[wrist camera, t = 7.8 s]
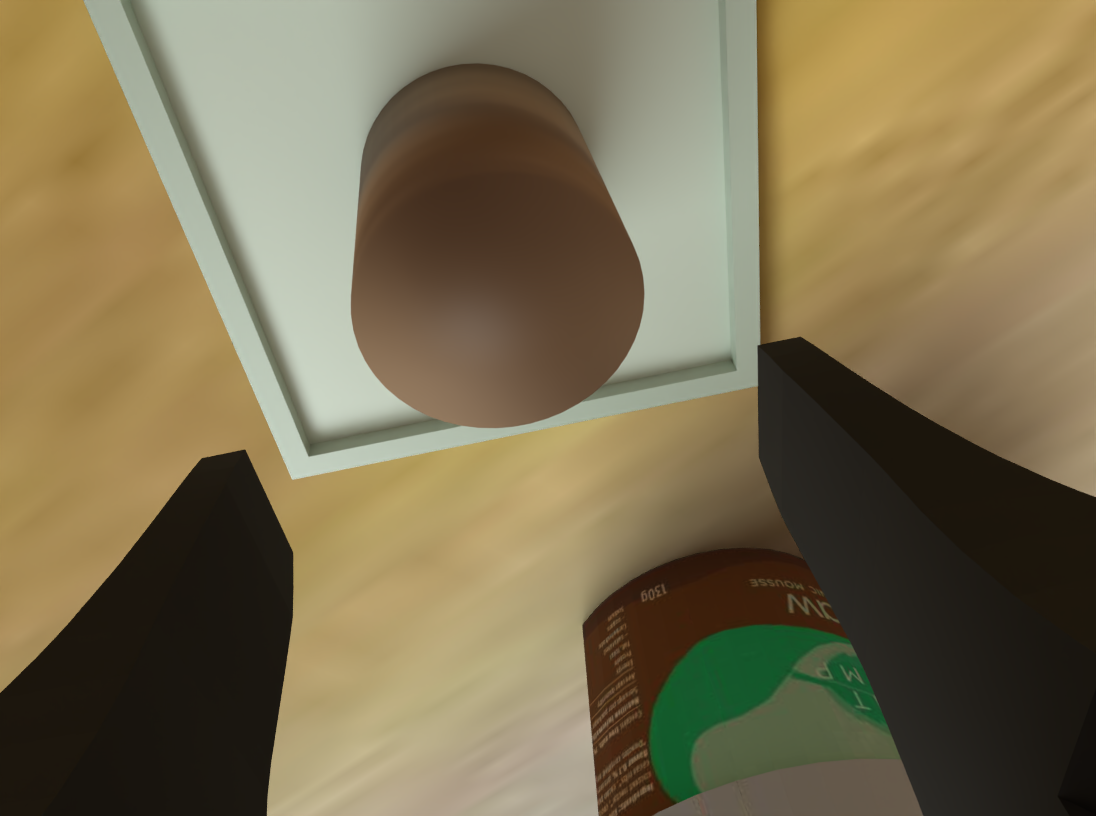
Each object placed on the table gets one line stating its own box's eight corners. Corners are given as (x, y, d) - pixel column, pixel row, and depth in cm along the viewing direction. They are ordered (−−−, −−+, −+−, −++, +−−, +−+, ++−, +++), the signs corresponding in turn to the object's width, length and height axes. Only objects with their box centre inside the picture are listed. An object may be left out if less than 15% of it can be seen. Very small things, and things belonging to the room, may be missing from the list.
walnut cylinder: (417, 309, 21) (423, 462, 16) (319, 116, 18) (294, 239, 14) (615, 236, 20) (675, 373, 16) (546, 25, 18) (596, 122, 13)
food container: (958, 572, 30) (1162, 878, 22) (846, 686, 33) (989, 992, 25) (635, 473, 25) (742, 812, 17) (540, 615, 28) (593, 959, 20)
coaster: (296, 456, 23) (292, 479, 23) (82, -49, 16) (66, -38, 15) (749, 365, 24) (760, 385, 23) (739, -176, 16) (754, -172, 16)
